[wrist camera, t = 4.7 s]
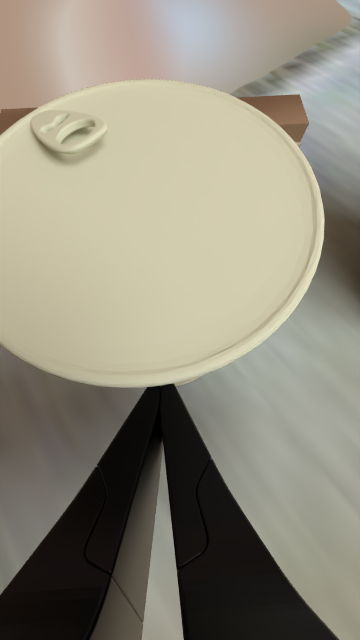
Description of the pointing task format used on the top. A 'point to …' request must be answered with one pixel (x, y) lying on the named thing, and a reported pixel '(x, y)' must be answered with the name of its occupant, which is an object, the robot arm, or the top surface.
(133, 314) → the can
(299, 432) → the top surface
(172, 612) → the top surface
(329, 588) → the top surface
